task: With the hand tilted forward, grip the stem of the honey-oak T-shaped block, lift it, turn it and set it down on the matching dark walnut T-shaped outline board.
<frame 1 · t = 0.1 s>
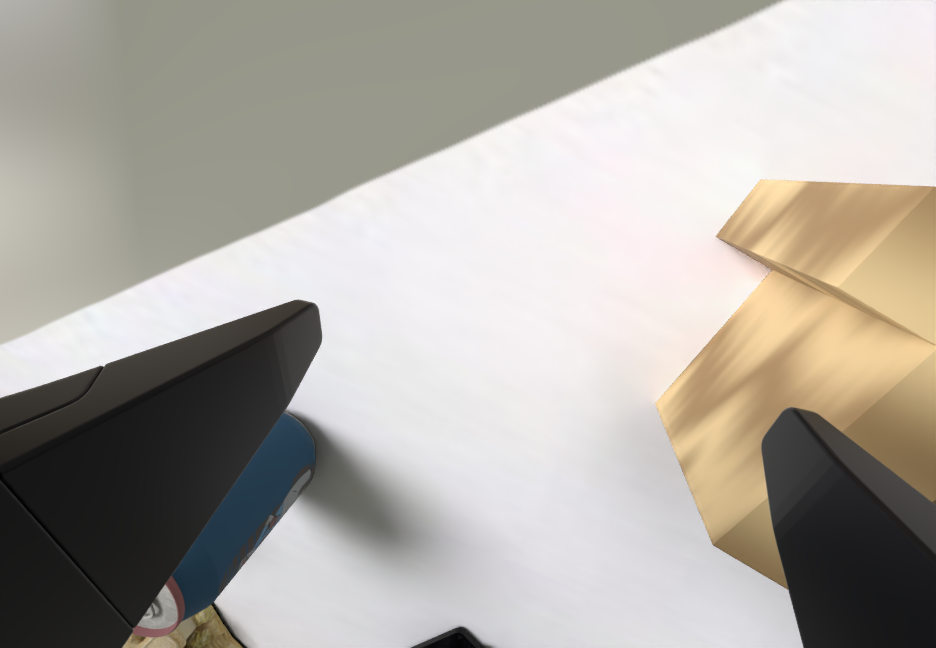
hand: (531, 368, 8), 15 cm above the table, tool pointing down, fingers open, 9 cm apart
ceramic model: (198, 629, 41), on the table
oak T block: (773, 321, 22), on the table
soda can: (281, 441, 31), on the table
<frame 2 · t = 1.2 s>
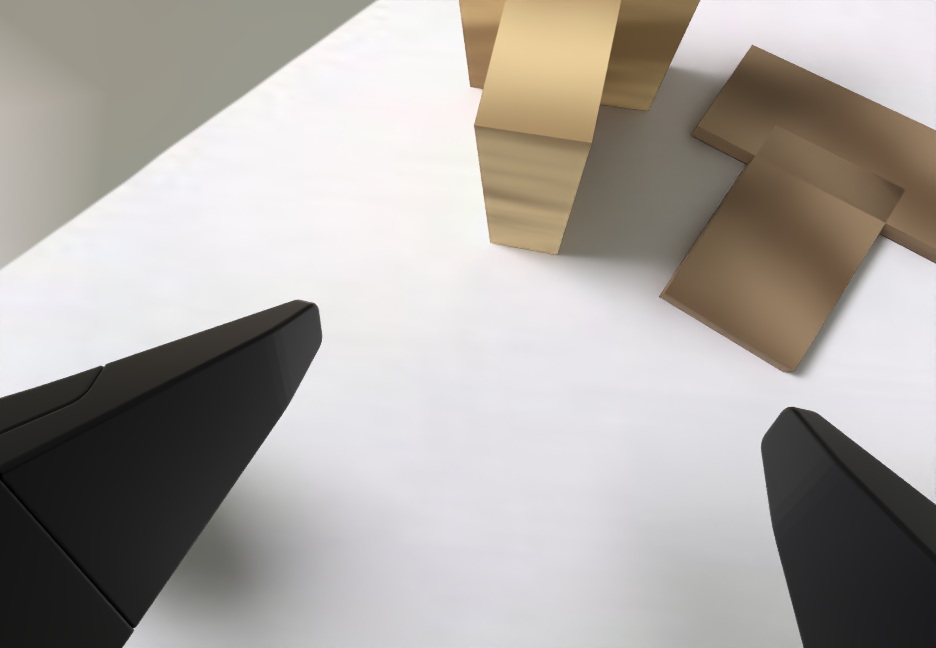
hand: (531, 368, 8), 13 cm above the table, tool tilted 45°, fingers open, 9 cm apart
walnut T outline: (799, 207, 22), on the table
oak T block: (549, 130, 24), on the table
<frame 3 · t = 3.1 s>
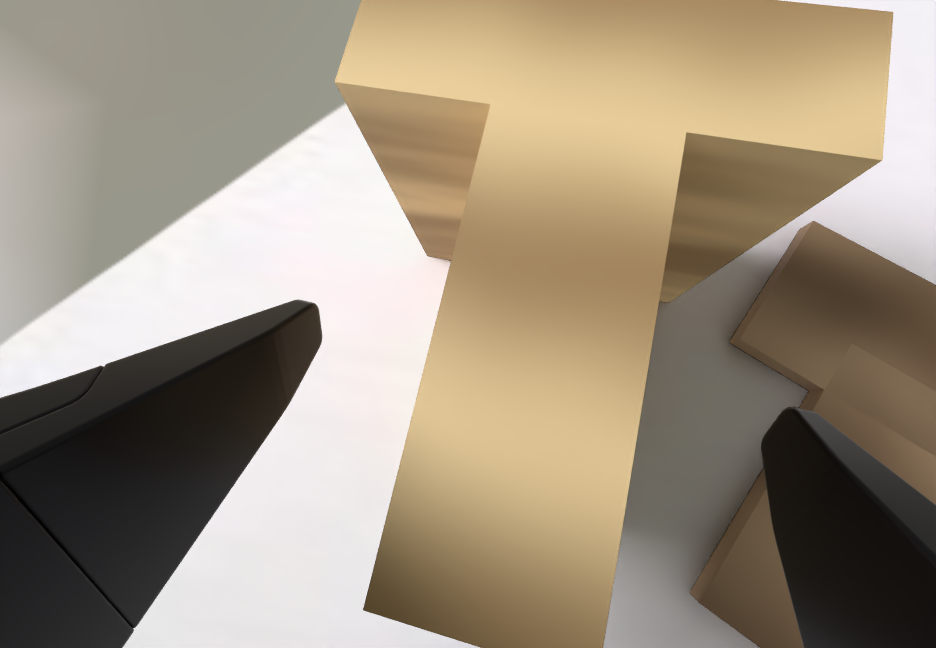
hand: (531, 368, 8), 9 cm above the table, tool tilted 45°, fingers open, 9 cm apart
walnut T outline: (888, 462, 15), on the table
oak T block: (533, 325, 17), on the table
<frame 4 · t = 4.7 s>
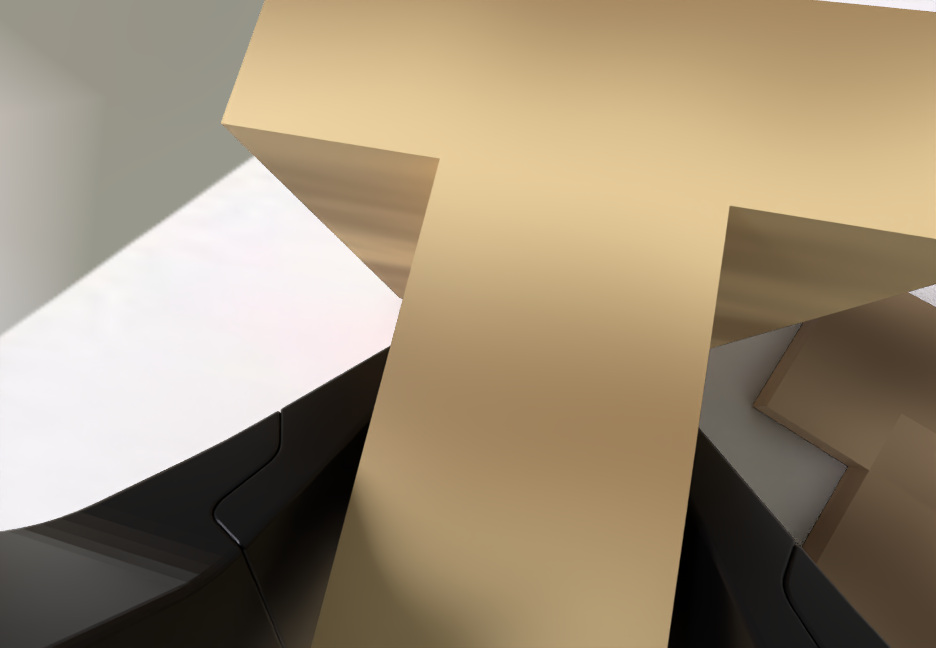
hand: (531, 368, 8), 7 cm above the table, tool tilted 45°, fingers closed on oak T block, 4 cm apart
oak T block: (522, 381, 15), on the table, touching gripper
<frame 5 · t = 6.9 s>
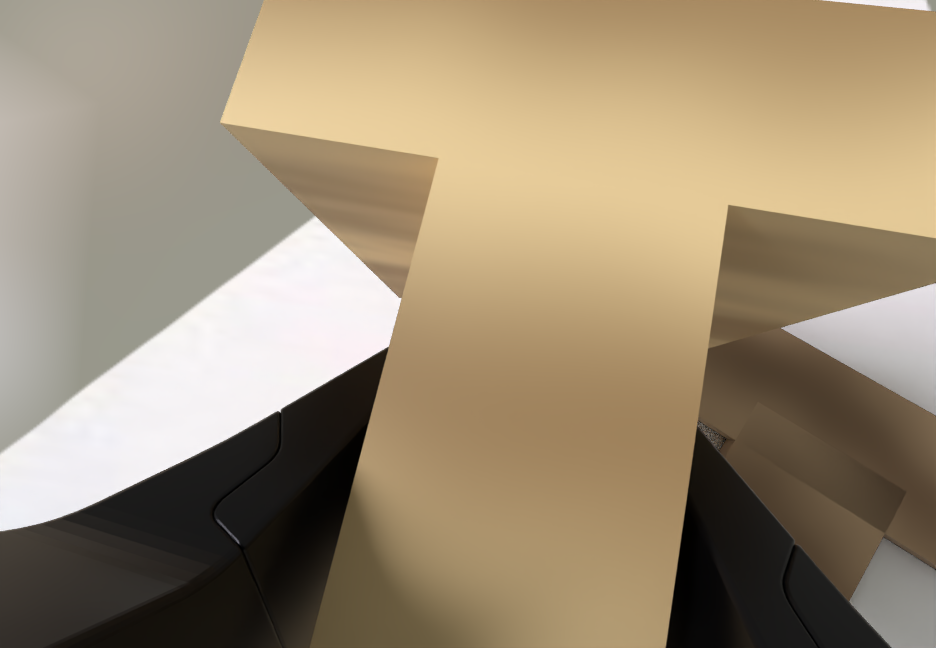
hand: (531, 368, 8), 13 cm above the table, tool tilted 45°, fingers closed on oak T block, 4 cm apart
walnut T outline: (787, 496, 19), on the table
oak T block: (522, 381, 15), point 6 cm above the table, touching gripper
when the fingers open (9 cm above the table, at t = 9.2 s): oak T block drops 1 cm, resting on walnut T outline.
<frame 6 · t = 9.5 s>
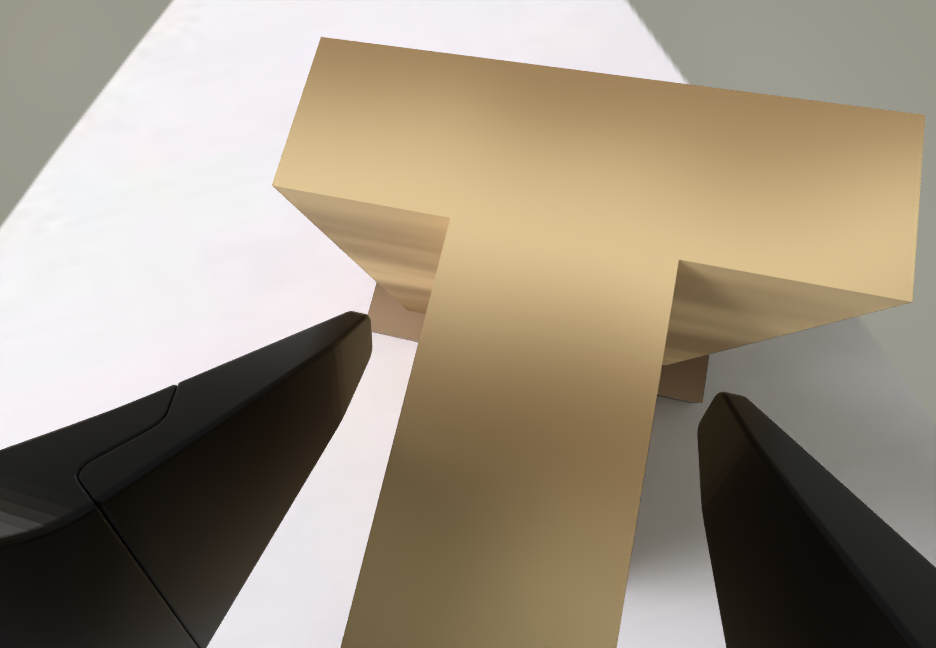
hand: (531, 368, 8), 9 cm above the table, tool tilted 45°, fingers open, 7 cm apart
walnut T outline: (519, 383, 17), on the table
oak T block: (519, 388, 16), point 1 cm above the table, touching walnut T outline
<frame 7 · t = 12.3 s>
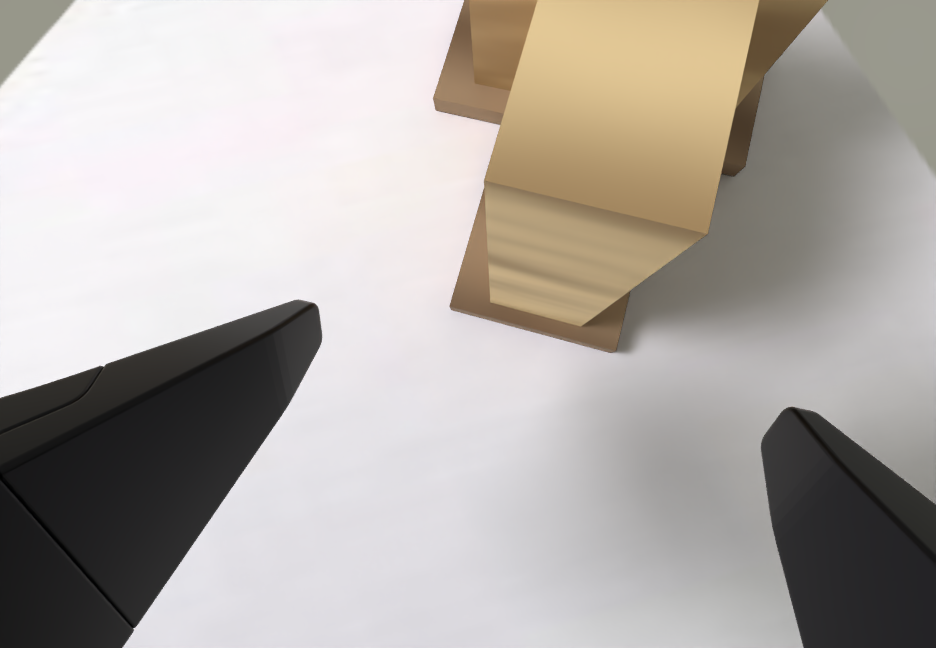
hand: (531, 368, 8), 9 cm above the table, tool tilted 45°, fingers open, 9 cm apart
walnut T outline: (575, 157, 18), on the table
oak T block: (578, 151, 18), point 1 cm above the table, touching walnut T outline
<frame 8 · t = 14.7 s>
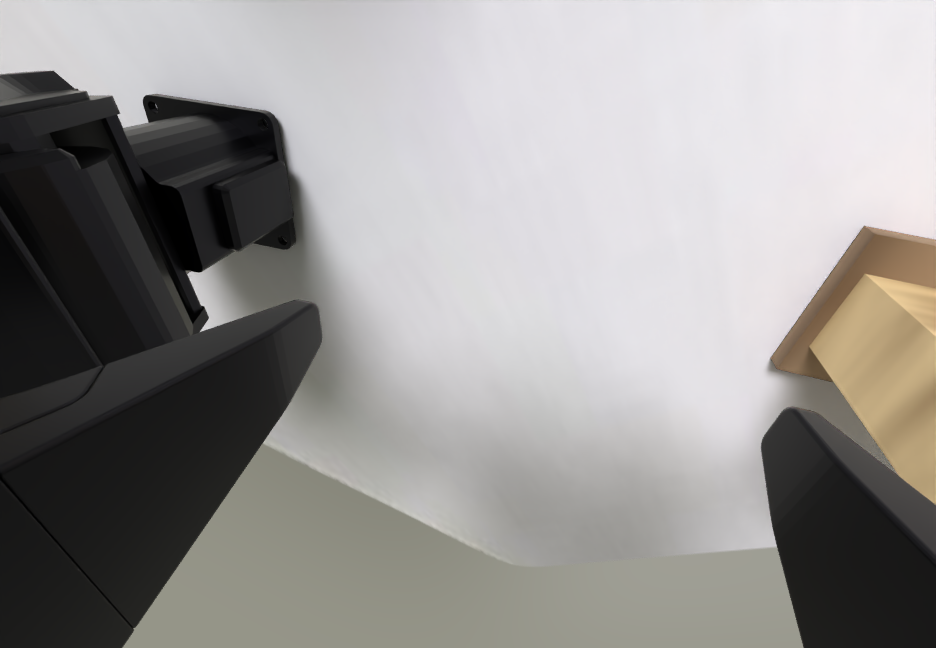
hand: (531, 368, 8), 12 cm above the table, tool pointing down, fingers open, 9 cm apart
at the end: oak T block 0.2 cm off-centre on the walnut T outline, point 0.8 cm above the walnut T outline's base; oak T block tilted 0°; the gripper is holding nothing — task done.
